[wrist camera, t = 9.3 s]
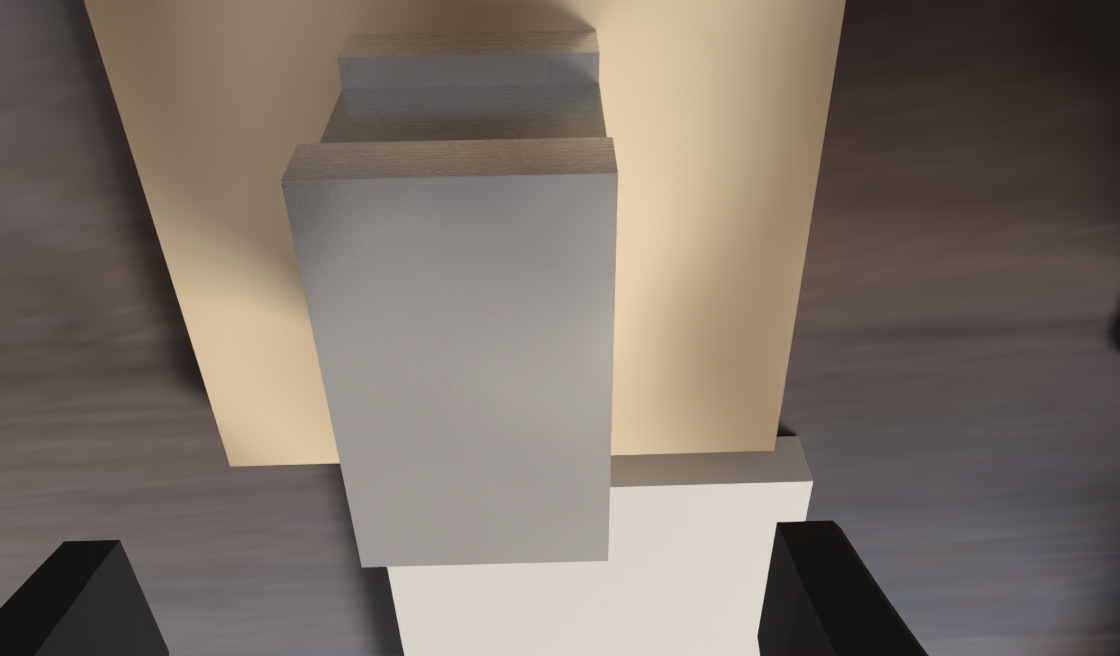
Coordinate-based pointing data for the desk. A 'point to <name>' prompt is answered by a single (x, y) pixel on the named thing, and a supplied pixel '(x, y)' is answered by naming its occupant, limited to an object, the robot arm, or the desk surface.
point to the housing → (465, 294)
